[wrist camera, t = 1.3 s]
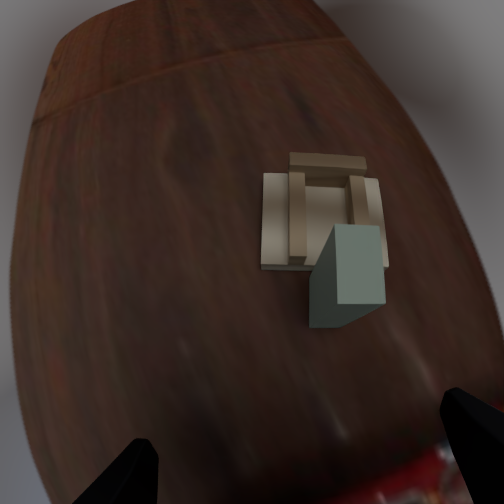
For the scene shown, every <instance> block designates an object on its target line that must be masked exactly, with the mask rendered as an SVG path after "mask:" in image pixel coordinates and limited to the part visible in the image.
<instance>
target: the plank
mask: <svg viewBox="0 0 504 504" xmlns="http://www.w3.org/2000/svg"><path fill="white" fill-rule="evenodd" d="M384 304H386V301H385V283H384V269H383V257H382V246H381V237H380V228H379V226H371V225H350V224H334V226H333V228H332V230H331V232H330V235H329V237H328V239H327V241H326V243H325V245H324V247H323V250H322V252H321V254H320V256H319V258H318V260H317V262H316V264H315V266H314V268H313V270H312V273H311V275H310V277H309V328H340V327H342V326H344V325H346V324H348V323H350V322H352V321H354V320H356V319H358V318H360V317H362V316H364V315H366V314H367V313H369V312H371V311H373V310H375V309H377V308H379V307H380V306H382V305H384Z"/></svg>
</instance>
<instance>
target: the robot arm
mask: <svg viewBox="0 0 504 504" xmlns="http://www.w3.org/2000/svg"><path fill="white" fill-rule="evenodd" d="M440 416H441V419H442V422H443V425H444V428H445V431H446V434H447V437H448V440H449V443H450V447H451V450H452V452H453V455H454V457H455V460H456V462H457V464H458V466H459V469H460V471H461V473H462V476H463V478H464V481H465V483H466V485H467V488H468V490H469V493H470V495H471V498H472V500H473V503H474V504H504V413H503V412H501V411H500V410H498V409H496V408H494V407H492V406H491V405H489V404H487V403H485V402H483V401H482V400H480V399H478V398H476V397H474V396H473V395H471V394H469V393H467V392H465V391H464V390H462V389H460V388H458V387H455V388H452V389H449V390H447V391H446V392H445V393H444V396H443V399H442V402H441V405H440ZM158 463H159V458H158V454H157V452H156V451H155V449H154V447H153V446H152V444H151V443H150V441H149V440H148V439H142V438H136V439H134V440H133V441H132V442H131V443H130V444H129V445H128V446H127V447H126V448H125V449H124V450H123V451H122V453H121V454H120V455H119V456H118V457H117V458H116V459H115V460H114V461H113V462H112V463H111V464H110V465H109V466H108V467H107V468H106V469H105V470H104V471H103V472H102V473H101V475H100V476H99V477H98V478H97V479H96V480H95V481H94V482H93V483H92V484H91V485H90V486H89V487H88V488H87V489H86V490H85V491H84V492H83V493H82V494H81V495H80V496H79V497H78V498H77V499H76V500H75V501H74V502H73V503H72V504H157V492H158Z"/></svg>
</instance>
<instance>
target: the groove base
mask: <svg viewBox="0 0 504 504" xmlns="http://www.w3.org/2000/svg"><path fill="white" fill-rule="evenodd" d="M366 171H367V166H366V160H365V157H358V156H346V155H332V154H315V153H294V152H290V154H289V165H288V174H284V173H264V186H263V217H262V246H261V270H295V271H312V270H313V268H314V266H315V264H316V262H317V260H318V258H319V256H320V254H321V252H322V250H323V247H324V245H325V243H326V241H327V239H328V237H329V235H330V232H331V230H332V228H333V226H334V224H350V225H371V226H379V228H380V237H381V246H382V257H383V269H384V271H385V270H386V269H387V268H388V267H389V262H388V252H387V242H386V233H385V225H384V217H383V210H382V203H381V196H380V190H379V184H378V179H373V178H364V175H365V173H366Z"/></svg>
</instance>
